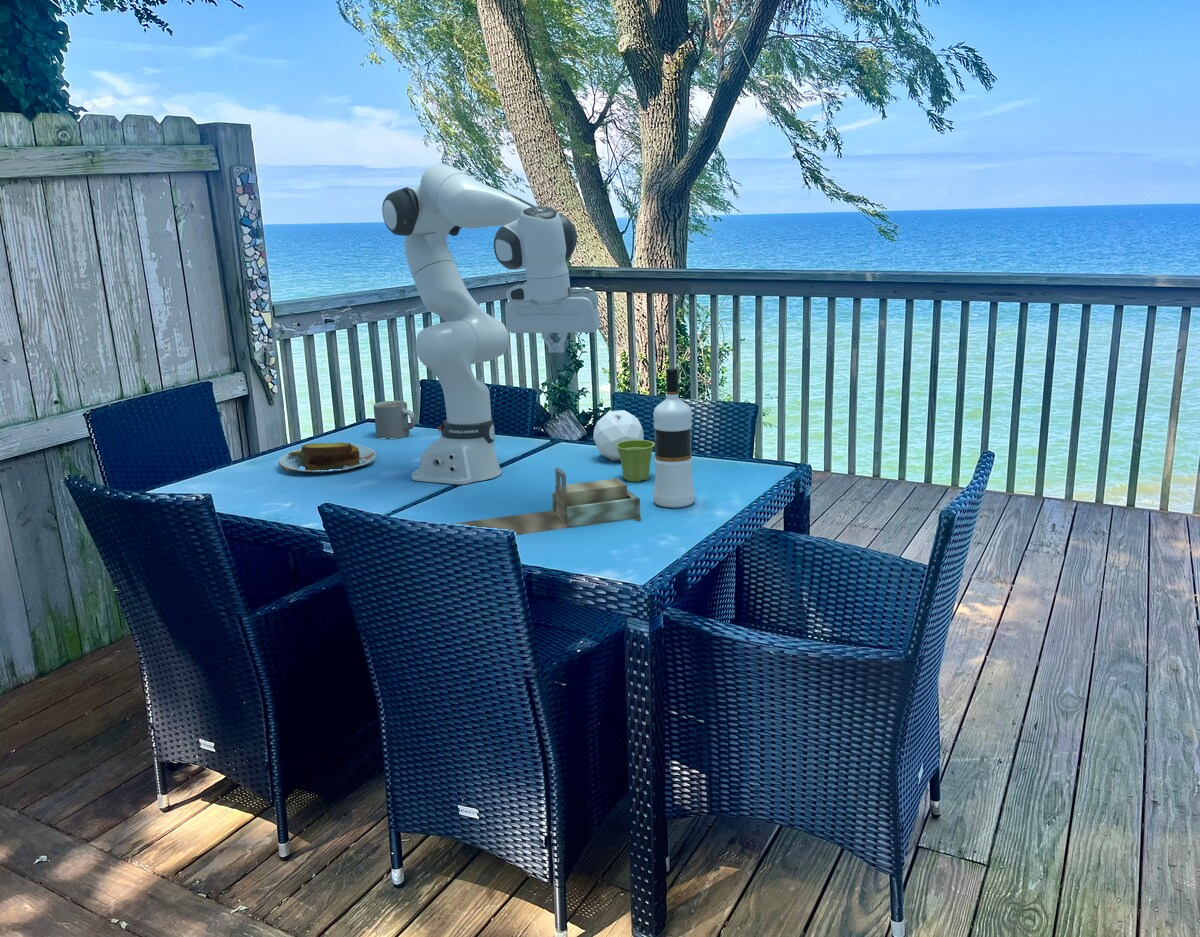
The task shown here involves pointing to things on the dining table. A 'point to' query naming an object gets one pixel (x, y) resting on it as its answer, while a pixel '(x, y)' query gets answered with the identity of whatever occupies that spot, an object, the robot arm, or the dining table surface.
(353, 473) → the dining table surface
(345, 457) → the food on plate
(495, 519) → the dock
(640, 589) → the dining table surface
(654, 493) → the vodka
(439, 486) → the dining table surface
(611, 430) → the geodesic sphere
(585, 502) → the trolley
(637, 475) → the plant pot
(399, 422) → the coffee mug
